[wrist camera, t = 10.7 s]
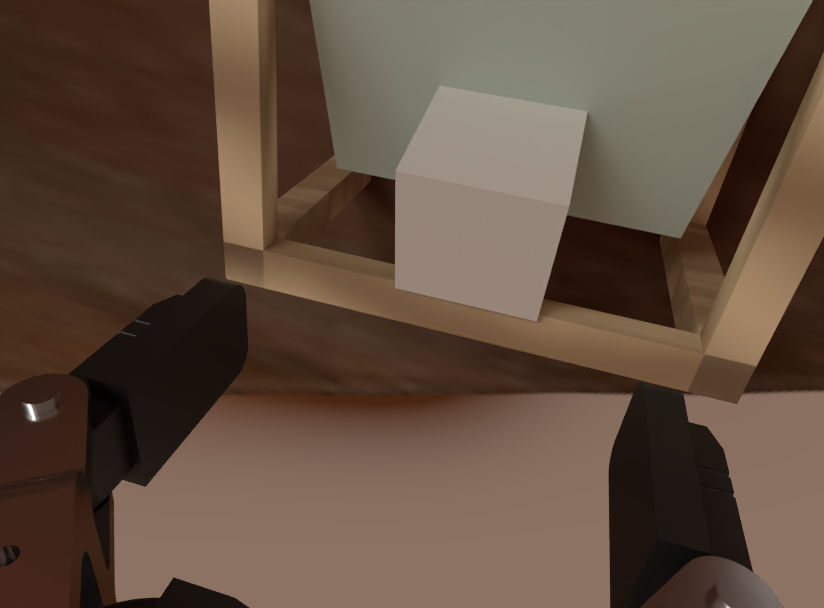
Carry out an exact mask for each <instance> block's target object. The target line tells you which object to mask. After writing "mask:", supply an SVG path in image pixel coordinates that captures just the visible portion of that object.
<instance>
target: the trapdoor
mask: <svg viewBox="0 0 824 608" xmlns="http://www.w3.org/2000/svg"><path fill="white" fill-rule="evenodd" d="M812 1H813V0H309V2H310V8H311V14H312V20H313V26H314V32H315V38H316V44H317V50H318V56H319V62H320V68H321V74H322V80H323V86H324V93H325V99H326V105H327V111H328V117H329V123H330V129H331V135H332V141H333V147H334V153H335V159H336V165H337V168H339V169H344V170H349V171H354V172H359V173H363V174H368V175H373V176H378V177H383V178H388V179H393V180H395V171H396V169H397V167H398V165H399V163H400V161H401V159H402V157H403V156H404V154H405V152H406V150H407V148H408V146H409V144H410V142H411V140H412V138H413V136H414V134H415V132H416V130H417V128H418V126H419V125H420V123H421V121H422V119H423V117H424V115H425V113H426V111H427V109H428V107H429V105H430V103H431V101H432V99H433V97H434V95H435V94H436V92H437V90H438V88H439V86H445V87H451V88H457V89H462V90H468V91H474V92H479V93H485V94H491V95H497V96H502V97H508V98H514V99H519V100H525V101H531V102H537V103H542V104H548V105H554V106H559V107H565V108H571V109H576V110H582V111H588V112H587V118H586V123H585V128H584V133H583V138H582V143H581V148H580V154H579V159H578V164H577V169H576V174H575V179H574V185H573V190H572V195H571V200H570V205H569V209H568V213H567V215H569V216H573V217H578V218H583V219H588V220H593V221H598V222H603V223H608V224H613V225H617V226H622V227H627V228H632V229H637V230H642V231H647V232H652V233H657V234H661V235H666V236H671V237H676V238H681V237H682V235H683V233H684V231H685V229H686V228H687V226H688V224H689V222H690V220H691V219H692V217H693V215H694V213H695V211H696V210H697V208H698V206H699V204H700V202H701V201H702V199H703V197H704V195H705V193H706V192H707V190H708V188H709V186H710V184H711V183H712V181H713V179H714V177H715V175H716V174H717V172H718V170H719V168H720V166H721V165H722V163H723V161H724V159H725V157H726V156H727V154H728V152H729V150H730V148H731V147H732V145H733V143H734V141H735V140H736V138H737V136H738V134H739V132H740V131H741V129H742V127H743V125H744V123H745V122H746V120H747V118H748V116H749V114H750V113H751V111H752V109H753V107H754V105H755V104H756V102H757V100H758V98H759V96H760V95H761V93H762V91H763V89H764V87H765V86H766V84H767V82H768V80H769V78H770V77H771V75H772V73H773V71H774V69H775V68H776V66H777V64H778V62H779V60H780V59H781V57H782V55H783V53H784V51H785V50H786V48H787V46H788V44H789V42H790V41H791V39H792V37H793V35H794V33H795V32H796V30H797V28H798V26H799V24H800V23H801V21H802V19H803V17H804V15H805V14H806V12H807V10H808V8H809V6H810V5H811V3H812Z"/></svg>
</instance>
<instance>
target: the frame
mask: <svg viewBox="0 0 824 608" xmlns="http://www.w3.org/2000/svg"><path fill="white" fill-rule="evenodd" d="M209 8H210V24H211V41H212V57H213V73H214V90H215V106H216V123H217V139H218V155H219V172H220V188H221V205H222V221H223V237H224V254H225V270H226V279H229V280H233V281H237V282H241V283H246V284H250V285H254V286H258V287H262V288H266V289H270V290H274V291H278V292H282V293H286V294H290V295H295V296H299V297H303V298H307V299H311V300H315V301H319V302H323V303H327V304H331V305H335V306H339V307H343V308H348V309H352V310H356V311H360V312H364V313H368V314H372V315H376V316H380V317H384V318H388V319H392V320H397V321H401V322H405V323H409V324H413V325H417V326H421V327H425V328H429V329H433V330H437V331H441V332H445V333H450V334H454V335H458V336H462V337H466V338H470V339H474V340H478V341H482V342H486V343H490V344H494V345H498V346H503V347H507V348H511V349H515V350H519V351H523V352H527V353H531V354H535V355H539V356H543V357H547V358H552V359H556V360H560V361H564V362H568V363H572V364H576V365H580V366H584V367H588V368H592V369H596V370H600V371H605V372H609V373H613V374H617V375H621V376H625V377H629V378H633V379H637V380H641V381H645V382H649V383H653V384H658V385H662V386H666V387H670V388H674V389H678V390H682V391H686V392H690V393H694V394H698V395H702V396H707V397H711V398H715V399H719V400H723V401H727V402H731V403H735V404H737V403H738V401H739V399H740V397H741V395H742V393H743V391H744V389H745V387H746V386H747V384H748V382H749V380H750V378H751V376H752V374H753V372H754V370H755V368H756V366H757V364H758V362H759V360H760V358H761V357H762V355H763V353H764V351H765V349H766V347H767V345H768V343H769V341H770V339H771V337H772V335H773V333H774V331H775V329H776V328H777V326H778V324H779V322H780V320H781V318H782V316H783V314H784V312H785V310H786V308H787V306H788V304H789V302H790V300H791V299H792V297H793V295H794V293H795V291H796V289H797V287H798V285H799V283H800V281H801V279H802V277H803V275H804V273H805V271H806V270H807V268H808V266H809V264H810V262H811V260H812V258H813V256H814V254H815V252H816V250H817V248H818V246H819V244H820V242H821V241H822V239H823V237H824V53H823V55H822V57H821V60H820V62H819V64H818V66H817V69H816V71H815V73H814V76H813V78H812V80H811V82H810V85H809V87H808V89H807V91H806V94H805V96H804V98H803V101H802V103H801V105H800V107H799V110H798V112H797V114H796V117H795V119H794V121H793V123H792V126H791V128H790V130H789V132H788V135H787V137H786V139H785V142H784V144H783V146H782V148H781V151H780V153H779V155H778V157H777V160H776V162H775V164H774V167H773V169H772V171H771V173H770V176H769V178H768V180H767V183H766V185H765V187H764V189H763V192H762V194H761V196H760V198H759V201H758V203H757V205H756V208H755V210H754V212H753V214H752V217H751V219H750V221H749V223H748V226H747V228H746V230H745V233H744V235H743V237H742V239H741V242H740V244H739V246H738V249H737V251H736V253H735V255H734V258H733V260H732V262H731V264H730V267H729V269H728V271H727V274H726V276H725V277H724V275H723V272H722V269H721V266H720V263H719V261H718V258H717V255H716V252H715V249H714V247H713V244H712V241H711V238H710V236H709V233H708V230H707V227H706V224H707V221H708V219H709V216H710V214H711V211H712V209H713V206H714V204H715V201H716V199H717V196H718V194H719V191H720V189H721V186H722V184H723V181H724V179H725V176H726V174H727V171H728V169H729V166H730V164H731V161H732V159H733V156H734V154H735V151H736V149H737V146H738V144H739V141H740V139H741V136H742V134H743V131H744V129H745V126H746V124H747V121H748V119H749V116H750V114H751V113H750V114H749V116H748V118H747V120H746V122H745V123H744V125H743V127H742V129H741V131H740V132H739V134H738V136H737V138H736V140H735V141H734V143H733V145H732V147H731V148H730V150H729V152H728V154H727V156H726V157H725V159H724V161H723V163H722V165H721V166H720V168H719V170H718V172H717V174H716V175H715V177H714V179H713V181H712V183H711V184H710V186H709V188H708V190H707V192H706V193H705V195H704V197H703V199H702V201H701V202H700V204H699V206H698V208H697V210H696V211H695V213H694V215H693V217H692V219H691V220H690V222H689V224H688V226H687V228H686V229H685V231H684V233H683V235H682V237H681V238H676V237H671V236H666V235H661V237H660V239H659V241H660V246H661V251H662V257H663V262H664V268H665V273H666V278H667V284H668V289H669V295H670V300H671V306H672V311H673V316H674V322H675V327H676V329H674V328H669V327H665V326H661V325H656V324H652V323H648V322H643V321H639V320H635V319H630V318H626V317H621V316H617V315H613V314H608V313H604V312H600V311H595V310H591V309H587V308H582V307H578V306H573V305H569V304H565V303H560V302H556V301H552V300H547V299H543V301H542V305H541V308H540V312H539V315H538V319H537V321H532V320H528V319H524V318H520V317H515V316H511V315H507V314H503V313H498V312H494V311H490V310H486V309H481V308H477V307H473V306H469V305H464V304H460V303H456V302H452V301H447V300H443V299H439V298H435V297H430V296H426V295H422V294H418V293H414V292H409V291H405V290H401V289H397V288H395V265H394V264H390V263H386V262H381V261H377V260H373V259H368V258H364V257H360V256H355V255H351V254H346V253H342V252H338V251H333V250H329V249H325V248H320V247H316V246H312V245H307V244H308V243H309V242H310V241H311V240H312V239H313V238H314V237H315V236H316V235H317V234H318V233H319V232H320V231H321V230H322V229H323V228H324V227H325V226H326V225H327V224H328V223H329V222H330V221H331V220H332V219H333V218H334V217H335V216H336V215H337V214H338V213H339V212H340V211H341V210H342V209H343V208H344V207H345V206H346V205H347V204H348V203H349V202H350V201H351V200H352V199H353V198H354V197H355V196H356V195H357V194H358V193H359V192H360V191H361V190H362V189H363V188H364V187H365V186H366V185H367V184H368V183H369V182H370V181H371V175H368V174H363V173H359V172H354V171H349V170H344V169H339V168H337V165H336V159H335V155H334V156H333V157H332V158H330V159H329V160H328V161H327V162H325V163H324V164H323V165H321V166H320V167H319V168H318V169H316V170H315V171H314V172H312V173H311V174H310V175H309V176H307V177H306V178H305V179H303V180H302V181H301V182H300V183H298V184H297V185H296V186H294V187H293V188H292V189H291V190H289V191H288V192H287V193H285V194H284V195H283V196H282V197H280V198H279V199H278V200H277V86H276V0H209Z"/></svg>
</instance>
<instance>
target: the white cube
mask: <svg viewBox="0 0 824 608" xmlns="http://www.w3.org/2000/svg"><path fill="white" fill-rule="evenodd" d="M587 112H588V111H582V110H576V109H571V108H565V107H559V106H554V105H548V104H542V103H537V102H531V101H525V100H519V99H514V98H508V97H502V96H497V95H491V94H485V93H479V92H474V91H468V90H462V89H457V88H451V87H445V86H439V88H438V90H437V92H436V94H435V95H434V97H433V99H432V101H431V103H430V105H429V107H428V109H427V111H426V113H425V115H424V117H423V119H422V121H421V123H420V125H419V126H418V128H417V130H416V132H415V134H414V136H413V138H412V140H411V142H410V144H409V146H408V148H407V150H406V152H405V154H404V156H403V157H402V159H401V161H400V163H399V165H398V167H397V169H396V171H395V288H397V289H401V290H405V291H409V292H414V293H418V294H422V295H426V296H430V297H435V298H439V299H443V300H447V301H452V302H456V303H460V304H464V305H469V306H473V307H477V308H481V309H486V310H490V311H494V312H498V313H503V314H507V315H511V316H515V317H520V318H524V319H528V320H532V321H537V319H538V315H539V312H540V308H541V305H542V301H543V298H544V294H545V291H546V287H547V283H548V280H549V276H550V273H551V269H552V266H553V262H554V259H555V255H556V252H557V248H558V244H559V241H560V237H561V234H562V230H563V227H564V223H565V220H566V216H567V213H568V209H569V205H570V200H571V195H572V190H573V185H574V179H575V174H576V169H577V164H578V159H579V154H580V148H581V143H582V138H583V133H584V128H585V123H586V118H587Z"/></svg>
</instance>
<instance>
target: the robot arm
mask: <svg viewBox="0 0 824 608" xmlns="http://www.w3.org/2000/svg"><path fill="white" fill-rule="evenodd" d="M247 352H248V333H247V312H246V295H245V290H244V288H243V287H242V286H241V285H237V284H233V283H228V282H224V281H220V280H216V279H212V278H204V279H202V280H201V281H200V282H199V283H197V284H196V285H195V286H194V287H193V288H192V289H190V290H189V291H188V292H187V293H186V294H185V295H183V296H181V295H175V296H172V297H170V298H168V299H165V300H163V301H161V302H158V303H156V304H154V305H152V306H151V307H150V308H148V309H147V310H146V311H145V312H144V313H142V314H141V315H140V316H139V317H138V318H136V321H135V322H131V323H130V324H129V325H128V326H127V327H125V328H124V329H123V330H122V332H121V334H117V335H116V336H114V337H113V338H112V339H111V340H109V341H108V342H107V343H106V344H105V345H103V346H102V347H101V348H100V349H98V350H97V351H96V352H95V353H94V354H92V355H91V356H90V357H89V358H87V359H86V360H85V361H84V362H83V363H81V364H80V365H79V366H78V367H77V368H75V369H74V370H73V371H72V372H70V373H69V374H68V375H67V374H44V375H39V376H35V377H31V378H28V379H25V380H23V381H20V382H18V383H16V384H14V385H13V386H11V387H9V388H8V389H6V390H5V391H4V392H3V393H2V394H1V395H0V608H249V607H247V606H246V605H244V604H243V603H242V602H240V601H239V600H237V599H236V598H234V597H231V596H228V595H225V594H222V593H219V592H216V591H213V590H209V589H207V588H204V587H201V586H198V585H195V584H191V583H189V582H185V581H183V580H180V579H176V578H173V579H172V581H171V582H170V584H169V585H168V587H167V588H166V590H165V591H164V593H163V594H162V596H161V597H160V598H143V599H133V600H128V601H123V602H116V595H115V569H114V568H115V567H114V499H113V494H112V491H113V490H114V488H115V487H116V486H117V485H118V484H119V483H120V481H122V480H125V481H128V482H132V483H135V484H138V485H141V486H145V487H146V486H147V484H148V483H149V482H150V481H151V479H152V478H153V477H154V476H155V475H156V473H157V472H158V471H159V470H160V469H161V467H162V466H163V465H164V464H165V463H166V461H167V460H168V459H169V458H170V457H171V455H172V454H173V453H174V452H175V451H176V449H177V448H178V447H179V446H180V445H181V443H182V442H183V441H184V440H185V438H186V437H187V436H188V435H189V434H190V432H191V431H192V430H193V429H194V428H195V426H196V425H197V424H198V423H199V422H200V420H201V419H202V418H203V417H204V416H205V414H206V413H207V412H208V411H209V410H210V408H211V407H212V406H213V405H214V403H215V402H216V401H217V400H218V399H219V398H220V396H221V395H222V394H223V393H224V391H225V390H226V389H227V388H228V387H229V385H230V384H231V383H232V382H233V381H234V379H235V378H236V377H237V376H238V375H239V373H240V372H241V370H242V368H243V366H244V363H245V360H246V357H247ZM733 494H734V491H733V487H732V483H731V479H730V478H729V470H728V466H727V461H726V457H725V453H724V450H723V448H722V447H721V446H720V444H719V443H718V441H717V440H716V439H715V437H714V436H713V435H712V433H711V432H710V430H709V429H708V428H707V427H706V426H702V425H698V424H694V423H690V422H688V417H687V411H686V406H685V400H684V396H683V393H681V392H678V391H674V390H670V389H665V388H661V387H657V386H653V385H649V384H645V383H639V384H638V385H637V387H636V389H635V391H634V394H633V396H632V399H631V401H630V404H629V406H628V409H627V411H626V414H625V416H624V419H623V422H622V424H621V427H620V430H619V432H618V434H617V437H616V439H615V442H614V445H613V449H612V453H611V458H610V464H609V533H610V534H609V539H610V608H784V607H783V605H782V603H781V602H780V600H779V598H778V597H777V595H776V594H775V593H774V592H773V590H772V589H771V588H770V587H769V586H768V585H767V584H766V583H765V582H764V581H763V580H762V579H761V578H760V577H759V576H757V575H756V574H754V573H753V570H752V566H751V562H750V558H749V554H748V549H747V546H746V541H745V537H744V533H743V529H742V524H741V520H740V516H739V512H738V507H737V503H736V500H735V498H734V497H733Z"/></svg>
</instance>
